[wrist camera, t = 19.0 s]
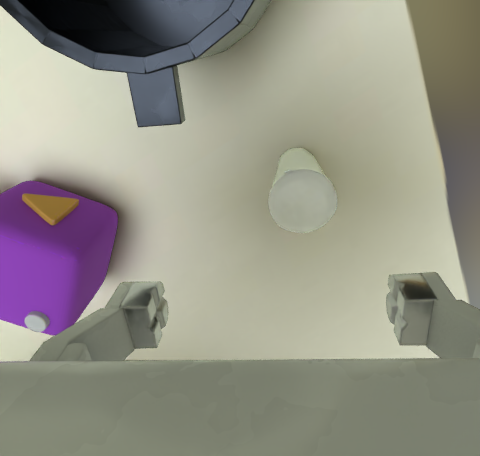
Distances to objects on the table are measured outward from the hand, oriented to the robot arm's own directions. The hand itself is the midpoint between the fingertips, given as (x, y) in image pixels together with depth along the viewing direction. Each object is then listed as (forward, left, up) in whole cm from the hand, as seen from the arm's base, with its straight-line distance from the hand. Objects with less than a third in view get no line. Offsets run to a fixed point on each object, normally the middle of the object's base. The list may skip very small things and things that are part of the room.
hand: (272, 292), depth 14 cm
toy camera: (-6, +22, -21) cm, 31 cm away
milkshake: (-1, -2, -21) cm, 21 cm away
